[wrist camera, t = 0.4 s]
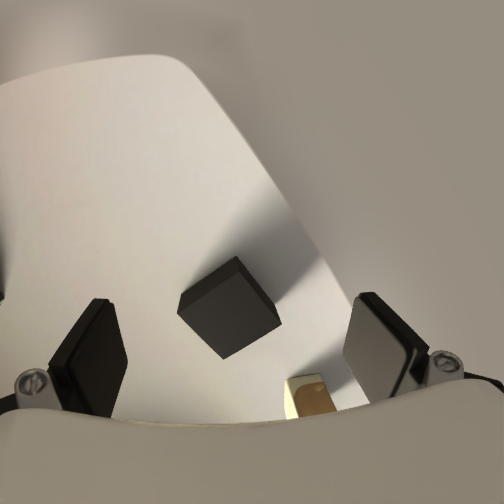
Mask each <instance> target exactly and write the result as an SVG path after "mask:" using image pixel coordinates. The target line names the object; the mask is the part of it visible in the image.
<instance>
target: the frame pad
mask: <svg viewBox="0 0 504 504" xmlns="http://www.w3.org/2000/svg"><path fill="white" fill-rule="evenodd" d="M3 300H4V296H3V295H2V293H1V292H0V305H1V303H2V301H3Z"/></svg>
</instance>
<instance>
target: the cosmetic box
mask: <svg viewBox="0 0 504 504" xmlns="http://www.w3.org/2000/svg"><path fill="white" fill-rule="evenodd" d="M284 406H285V413H286V417H287V419H293V418H300V417H307V416H313V415H319V414H325V413H330V412H335V411H337V410H336V407H335V405H334V403H333V401H332V399H331V397H330V395H329V392H328V390H327V388H326V386H325V384H324V381H323V379H322V377H321V375H320V374H314V375H307V376H301V377H295V378H289V379H286V381H285V400H284Z"/></svg>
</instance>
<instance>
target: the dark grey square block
mask: <svg viewBox="0 0 504 504" xmlns="http://www.w3.org/2000/svg"><path fill="white" fill-rule="evenodd" d="M177 314H178V315H179V316H180V317H181V318H182V319H183V320H184V321H185V322H186V323H187V324H188V325H189V326H190V327H191V329H192V330H193V331H194V332H195V333H196V334H197V335H198V336H199V337H200V338H201V339H202V340H204V341H205V342H206V343H207V344H208V345H209V346H210V347H211V348H212V349H213V350H214V351H215V352H216V353H217V354H218V355H219V356H220V357H221V358H222V359H223V360H224V359H226V358H227V357H229V356H231V355H233V354H234V353H236V352H238V351H239V350H241V349H243V348H244V347H246V346H248V345H249V344H251V343H253V342H254V341H256V340H258V339H259V338H261V337H263V336H264V335H266V334H267V333H269V332H271V331H272V330H274V329H275V328H277V327H279V326H280V325H282V323H281V321H280V318H279V315H278V313H277V310H276V307H275V305H274V303H273V302H272V301H271V300H270V298H269V297H268V296H267V295H266V293H265V292H264V291H263V289H262V288H261V287H260V286H259V284H258V283H257V282H256V280H255V279H254V278H253V277H252V275H251V274H250V273H249V271H248V270H247V269H246V268H245V266H244V265H243V264H242V262H241V261H240V260H239V259H238V257H237V256H235V257H234V258H232V259H231V260H229V261H228V262H226V263H225V264H224V265H222V266H221V267H219V268H218V269H216V270H215V271H214V272H212V273H211V274H209V275H208V276H206V277H205V278H204V279H202V280H201V281H199V282H198V283H196V284H195V285H194V286H192V287H191V288H189V289H188V290H186V291H185V292H184V293H182V294H181V298H180V302H179V306H178V311H177Z"/></svg>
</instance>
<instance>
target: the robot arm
mask: <svg viewBox="0 0 504 504" xmlns="http://www.w3.org/2000/svg"><path fill="white" fill-rule="evenodd" d="M428 350H429V346H428V345H427V344H426V343H425V342H424V341H423V340H422V339H421V338H420V337H419V336H418V335H417V334H416V333H415V332H414V331H413V329H411V327H410V326H409V325H408V324H407V323H405V322H404V321H403V320H402V319H401V318H400V317H399V316H398V315H397V314H396V313H395V312H394V311H393V310H392V309H391V308H390V307H389V306H388V305H387V304H386V303H385V302H384V301H383V300H382V299H381V298H380V297H378V295H377V294H376V293H374V292H364V293H360V294H359V296H358V297H356V298H355V300H354V304H353V309H352V314H351V318H350V323H349V327H348V331H347V335H346V339H345V344H344V347H343V357H344V359H345V361H346V362H347V364H348V366H349V368H350V369H351V371H352V373H353V374H354V376H355V378H356V379H357V381H358V383H359V385H360V386H361V388H362V390H363V391H364V393H365V395H366V397H367V398H368V400H369V402H370V404H366V405H362V406H358V407H354V408H349V409H345V410H340V411H335V412H330V413H325V414H319V415H313V416H307V417H300V418H293V419H285V420H277V421H267V422H255V423H240V424H206V425H198V424H166V423H151V422H140V421H131V420H121V419H113V418H111V415H112V412H113V409H114V405H115V402H116V399H117V396H118V393H119V390H120V386H121V383H122V380H123V377H124V375H125V372H126V369H127V365H128V359H127V355H126V352H125V348H124V344H123V341H122V337H121V333H120V329H119V325H118V320H117V316H116V312H115V307H114V304H113V303H110V301H109V300H108V299H97V298H94V299H93V300H92V301H91V303H90V304H89V305H88V307H87V308H86V309H85V311H84V312H83V314H82V315H81V316H80V318H79V319H78V320H77V322H76V323H75V325H74V326H73V327H72V329H71V330H70V332H69V333H68V335H67V336H66V338H65V339H64V340H63V342H62V343H61V345H60V346H59V348H58V349H57V351H56V352H55V354H54V355H53V357H52V359H51V360H50V362H49V363H48V365H49V368H48V370H47V371H45V370H42V369H37V368H34V369H29V370H27V371H25V372H23V373H22V374H20V375H19V377H18V378H17V379H16V381H15V384H14V390H15V393H14V394H11V395H9V396H6V397H4V398H1V399H0V504H504V386H503V384H502V383H501V382H500V381H498V380H494V379H491V378H487V377H483V376H479V375H475V374H471V373H467V372H464V368H463V363H462V361H461V360H460V358H459V357H457V356H456V355H454V354H453V353H451V352H448V351H442V350H440V351H435V352H433V353H432V354H431V355H430V356H429V355H428V354H427V352H428Z"/></svg>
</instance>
